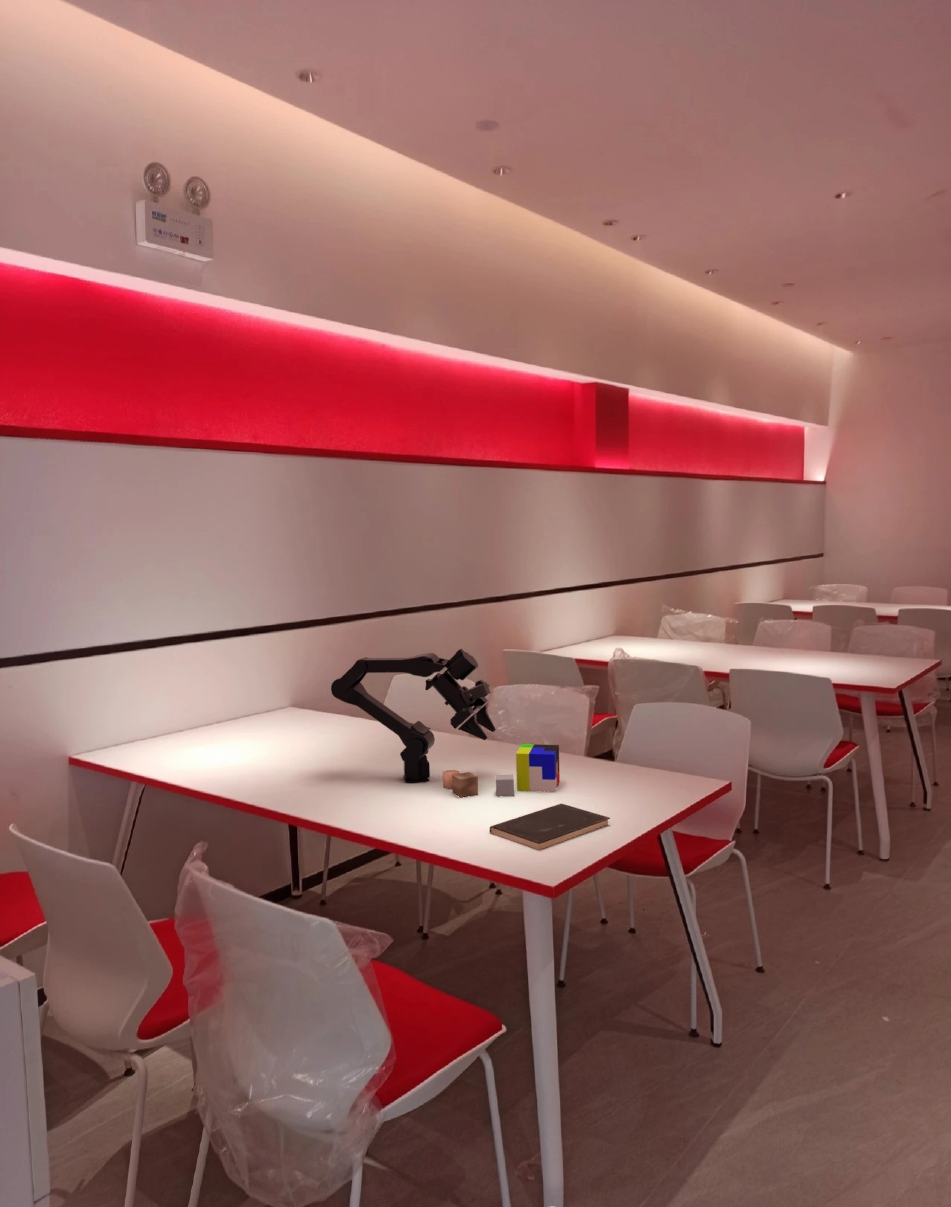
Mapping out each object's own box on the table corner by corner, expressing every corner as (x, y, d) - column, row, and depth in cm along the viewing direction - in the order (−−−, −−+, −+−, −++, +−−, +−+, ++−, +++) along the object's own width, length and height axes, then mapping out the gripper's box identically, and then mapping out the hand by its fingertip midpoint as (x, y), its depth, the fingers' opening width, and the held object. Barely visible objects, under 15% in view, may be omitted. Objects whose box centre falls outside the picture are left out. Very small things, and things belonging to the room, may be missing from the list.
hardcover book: (610, 827, 218) (609, 817, 217) (539, 853, 203) (539, 842, 202) (559, 812, 230) (559, 802, 229) (489, 835, 215) (489, 825, 214)
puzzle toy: (555, 792, 244) (554, 754, 243) (517, 791, 246) (516, 753, 245) (559, 781, 254) (558, 745, 253) (522, 780, 256) (521, 744, 255)
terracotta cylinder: (444, 789, 249) (444, 775, 249) (442, 785, 253) (441, 770, 253) (461, 788, 250) (460, 773, 249) (458, 784, 254) (458, 769, 254)
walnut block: (460, 798, 241) (459, 779, 241) (452, 793, 246) (452, 774, 245) (478, 795, 243) (477, 776, 243) (470, 790, 248) (469, 771, 248)
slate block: (496, 797, 242) (496, 779, 241) (496, 791, 246) (495, 775, 246) (514, 796, 242) (513, 779, 241) (513, 791, 246) (512, 774, 246)
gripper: (463, 678, 243) (503, 723, 242) (481, 666, 261) (519, 708, 260) (433, 705, 246) (473, 751, 245) (453, 692, 264) (490, 734, 263)
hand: (490, 735), depth 253 cm, fingers open, 9 cm apart
